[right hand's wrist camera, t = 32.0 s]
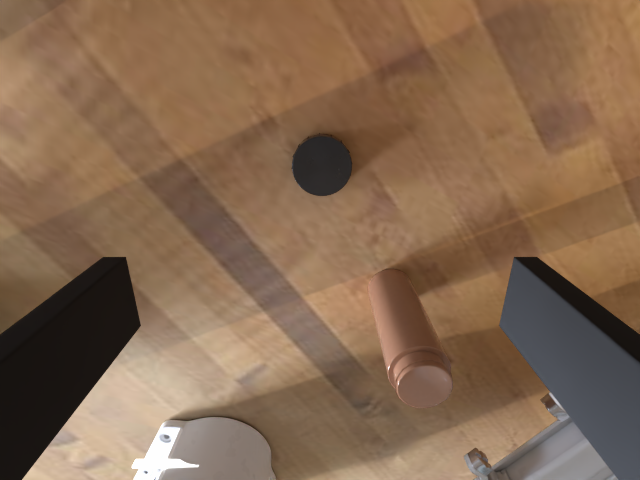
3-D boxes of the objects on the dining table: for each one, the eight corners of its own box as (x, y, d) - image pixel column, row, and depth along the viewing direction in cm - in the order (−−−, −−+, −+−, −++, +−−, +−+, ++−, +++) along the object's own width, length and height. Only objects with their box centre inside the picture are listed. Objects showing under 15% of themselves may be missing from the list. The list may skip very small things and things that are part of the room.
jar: (359, 295, 43) (378, 397, 28) (383, 261, 41) (417, 350, 27) (395, 314, 43) (432, 421, 29) (420, 281, 42) (472, 377, 28)
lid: (290, 188, 38) (289, 192, 36) (295, 130, 36) (294, 132, 34) (346, 194, 38) (347, 199, 36) (354, 137, 36) (356, 139, 34)
